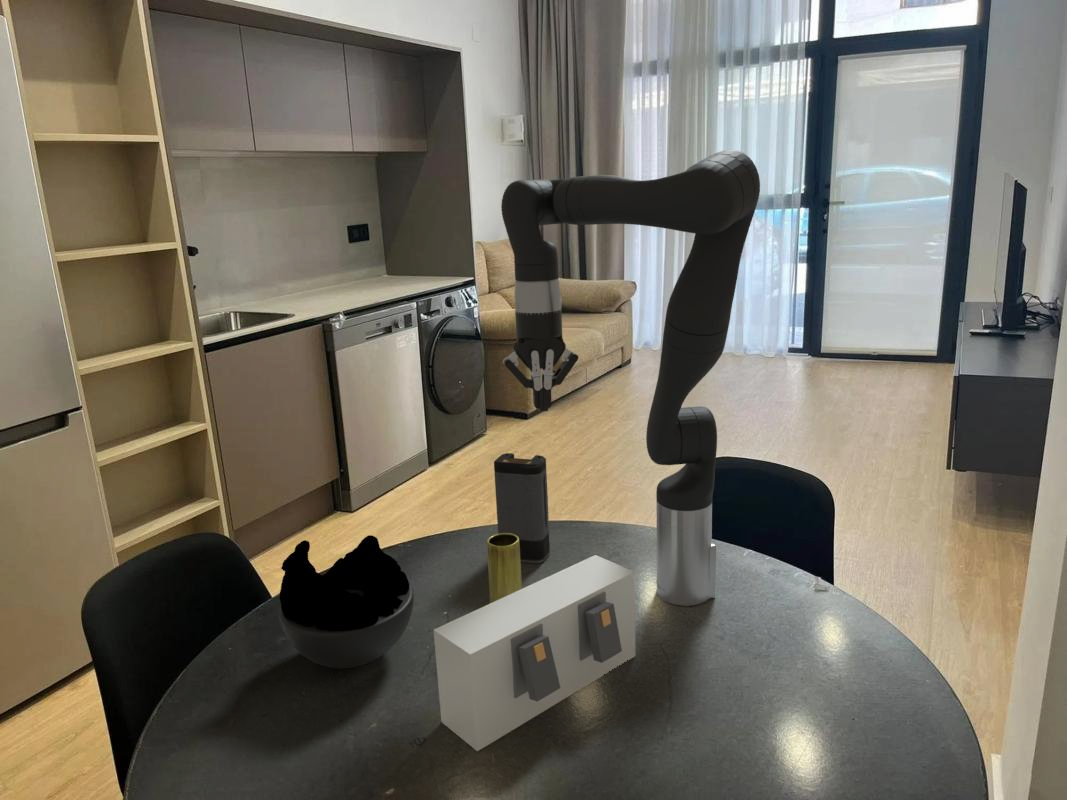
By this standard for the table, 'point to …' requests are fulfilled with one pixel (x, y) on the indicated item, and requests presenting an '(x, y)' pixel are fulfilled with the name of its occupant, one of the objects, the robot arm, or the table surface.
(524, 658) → the outer rocker
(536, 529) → the electronic device
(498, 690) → the power box
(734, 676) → the table surface
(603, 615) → the block
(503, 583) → the vase
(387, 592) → the coal bowl
